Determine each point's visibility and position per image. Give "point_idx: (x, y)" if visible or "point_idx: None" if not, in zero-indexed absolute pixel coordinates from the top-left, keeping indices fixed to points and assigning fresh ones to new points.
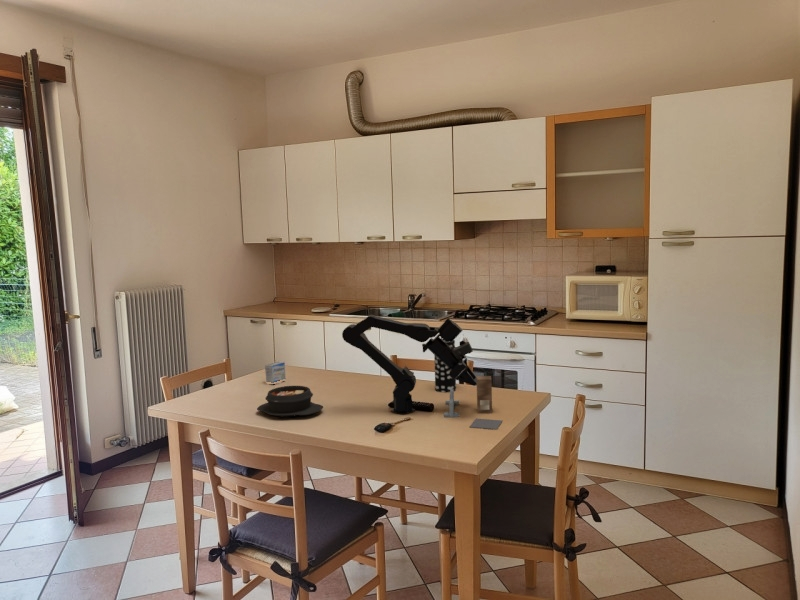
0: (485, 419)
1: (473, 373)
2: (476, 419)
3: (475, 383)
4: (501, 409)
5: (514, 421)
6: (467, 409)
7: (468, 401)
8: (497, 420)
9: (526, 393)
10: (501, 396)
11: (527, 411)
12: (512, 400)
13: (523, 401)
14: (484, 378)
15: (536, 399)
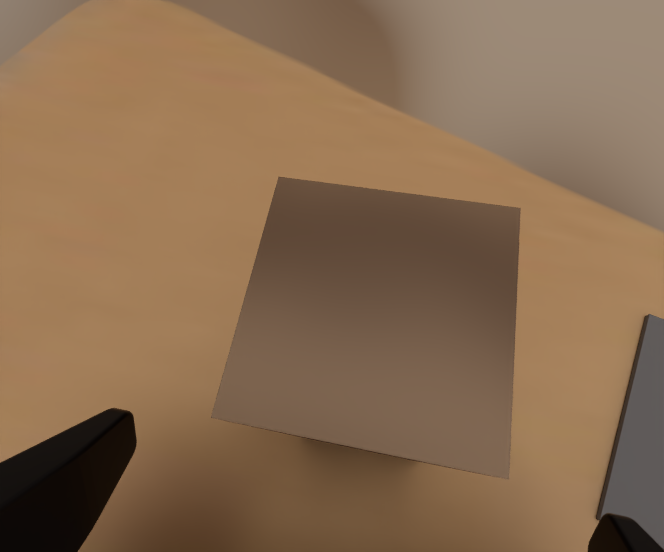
0: (630, 440)
1: (37, 449)
2: None
3: (644, 544)
4: None
5: (640, 240)
6: (290, 530)
7: None
8: (652, 350)
9: (58, 60)
10: (50, 197)
11: (421, 126)
12: (166, 155)
13: (210, 105)
14: (433, 306)
15: (195, 41)
